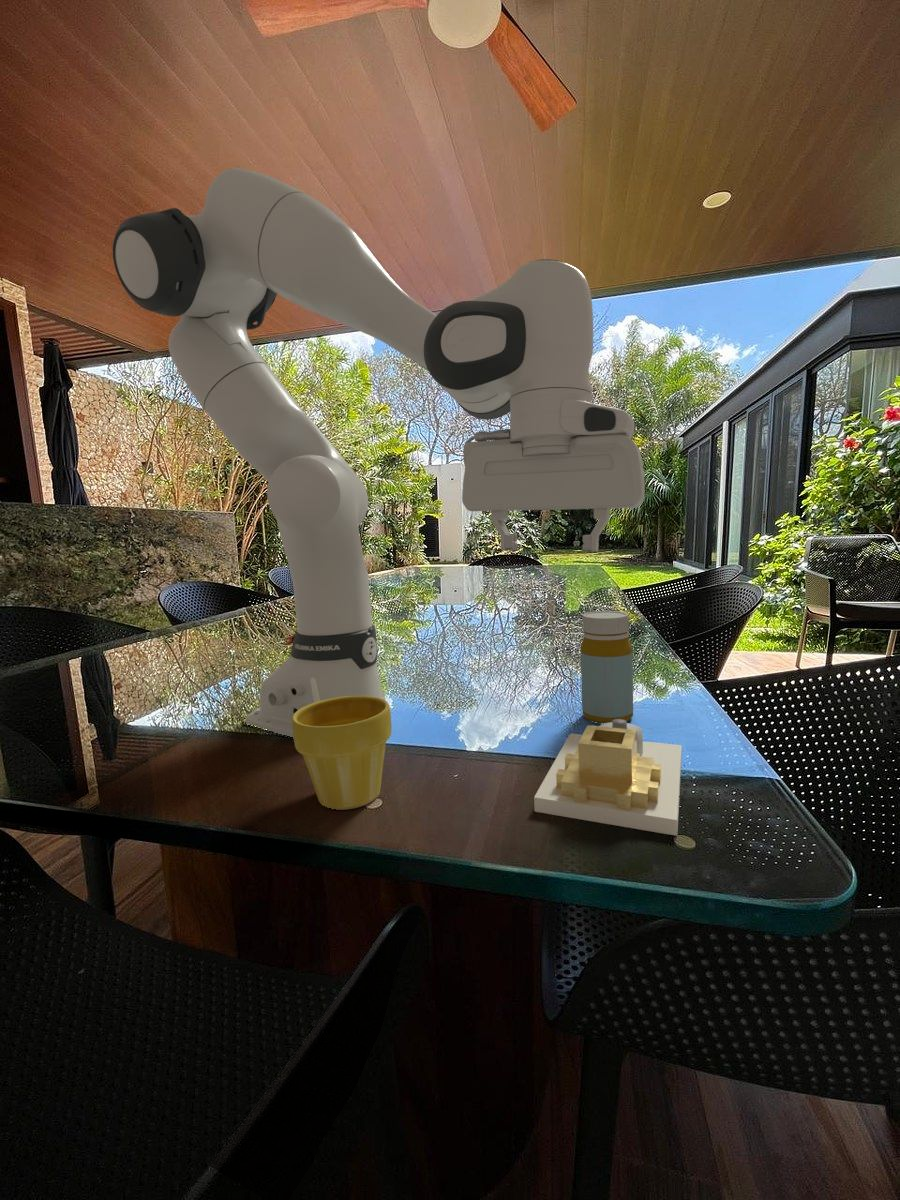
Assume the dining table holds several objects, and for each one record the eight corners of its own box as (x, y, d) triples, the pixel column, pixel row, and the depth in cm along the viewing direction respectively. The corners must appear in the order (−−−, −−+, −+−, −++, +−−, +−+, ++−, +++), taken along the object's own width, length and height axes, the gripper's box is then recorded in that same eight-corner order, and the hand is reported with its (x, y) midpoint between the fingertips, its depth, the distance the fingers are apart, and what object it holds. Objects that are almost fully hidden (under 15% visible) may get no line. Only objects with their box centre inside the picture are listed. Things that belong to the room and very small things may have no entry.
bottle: (636, 726, 73) (634, 618, 71) (583, 726, 74) (580, 619, 72) (629, 709, 80) (628, 609, 78) (581, 709, 81) (578, 611, 79)
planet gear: (551, 798, 52) (549, 749, 52) (571, 758, 61) (570, 715, 60) (656, 815, 48) (655, 762, 48) (662, 769, 57) (661, 724, 56)
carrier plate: (534, 811, 53) (532, 763, 52) (570, 744, 68) (569, 706, 68) (677, 835, 48) (677, 782, 47) (681, 757, 63) (681, 716, 62)
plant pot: (302, 781, 62) (294, 700, 61) (390, 768, 65) (384, 689, 63) (297, 828, 52) (288, 733, 51) (402, 810, 55) (395, 718, 53)
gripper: (452, 428, 61) (453, 551, 63) (643, 411, 52) (638, 553, 54) (473, 436, 66) (474, 548, 68) (649, 422, 58) (644, 550, 60)
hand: (548, 550), depth 61 cm, fingers open, 8 cm apart
